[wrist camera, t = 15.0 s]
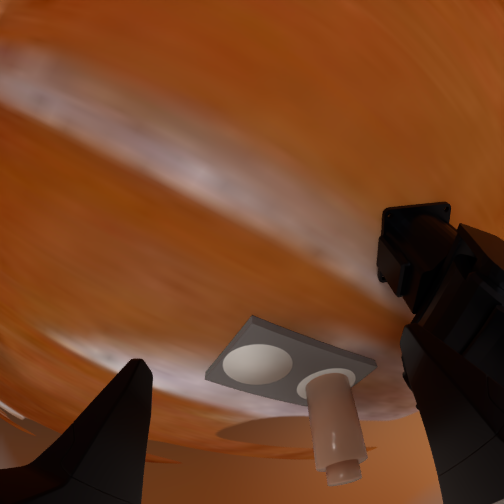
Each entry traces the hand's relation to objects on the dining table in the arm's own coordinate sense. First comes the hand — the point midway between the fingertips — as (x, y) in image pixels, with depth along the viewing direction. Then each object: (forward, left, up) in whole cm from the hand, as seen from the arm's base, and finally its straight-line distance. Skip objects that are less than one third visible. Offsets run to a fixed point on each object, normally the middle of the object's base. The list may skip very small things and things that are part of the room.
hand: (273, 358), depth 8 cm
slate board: (-1, +18, -12) cm, 22 cm away
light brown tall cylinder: (-5, +21, -11) cm, 24 cm away
